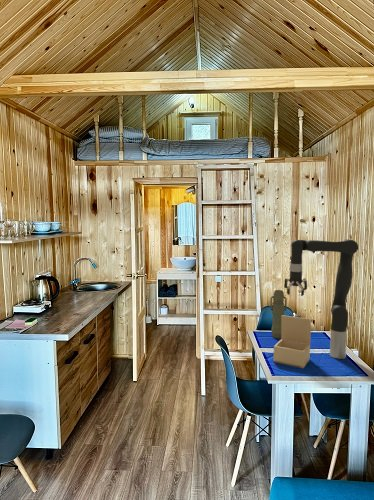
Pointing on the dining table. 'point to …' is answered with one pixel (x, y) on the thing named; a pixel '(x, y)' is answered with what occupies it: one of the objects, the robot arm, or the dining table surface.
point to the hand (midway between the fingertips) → (295, 295)
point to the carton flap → (296, 329)
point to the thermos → (277, 312)
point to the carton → (292, 353)
